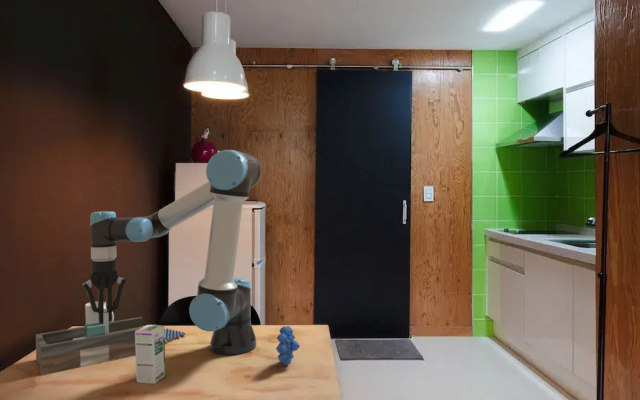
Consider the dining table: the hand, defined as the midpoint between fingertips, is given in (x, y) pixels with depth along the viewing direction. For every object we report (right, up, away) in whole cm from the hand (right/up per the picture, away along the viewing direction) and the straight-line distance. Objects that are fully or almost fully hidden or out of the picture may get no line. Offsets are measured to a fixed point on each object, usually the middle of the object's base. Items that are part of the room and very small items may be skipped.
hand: (105, 332), depth 149 cm
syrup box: (+22, -7, -21) cm, 31 cm away
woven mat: (+14, -7, +15) cm, 22 cm away
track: (-2, -7, -2) cm, 8 cm away
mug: (-10, -7, +17) cm, 21 cm away
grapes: (+60, -7, -11) cm, 62 cm away
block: (-2, -2, -2) cm, 4 cm away
